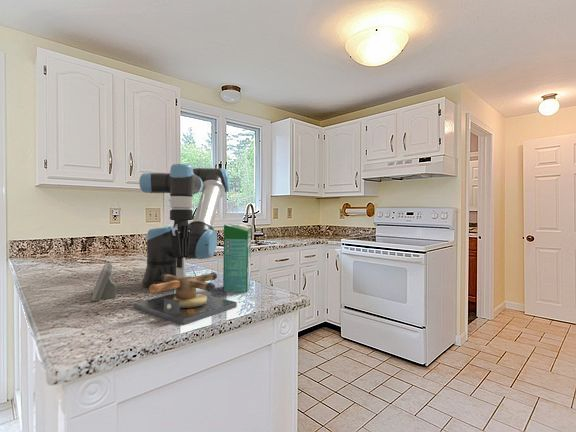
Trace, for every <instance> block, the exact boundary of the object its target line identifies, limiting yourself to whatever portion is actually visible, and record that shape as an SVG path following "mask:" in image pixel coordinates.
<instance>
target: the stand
mask: <svg viewBox="0 0 576 432" xmlns="http://www.w3.org/2000/svg"><path fill="white" fill-rule="evenodd" d="M196 294H203V295H206V296H207V303H206V304H204V305H202V306H198V307H190V308H182V307H180V301H176V300H173V298H174V297H176V292H175V293H172V294H171V293H170V294H168V295H163V296H158V297H154V298H151V299H146V300H142V301H141V300H140V301H138V302H134V303H133V309H135V310H138V311H142V312H143V313H147V314H150V315H153V316H156V317H159V318H161V319H165V320H167V321H171V322H174V323H176V324H179V325H182V326H184V325H185V326H186V325H187V324H190V323H193V322H197V321H199V320H203V319H206V318H209V317H212V316H215V315H217V314H220V313H222V312H227V311H229V310H232V309H234V308H238V306H237V305H238V302H237V301H233V300H229V299H226V298H221V297H216V296H213V295H208V294H204V293H200V292H196Z"/></svg>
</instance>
